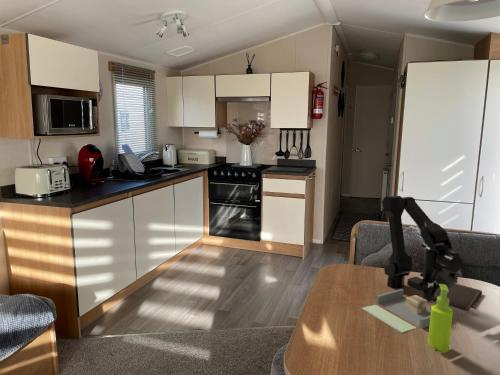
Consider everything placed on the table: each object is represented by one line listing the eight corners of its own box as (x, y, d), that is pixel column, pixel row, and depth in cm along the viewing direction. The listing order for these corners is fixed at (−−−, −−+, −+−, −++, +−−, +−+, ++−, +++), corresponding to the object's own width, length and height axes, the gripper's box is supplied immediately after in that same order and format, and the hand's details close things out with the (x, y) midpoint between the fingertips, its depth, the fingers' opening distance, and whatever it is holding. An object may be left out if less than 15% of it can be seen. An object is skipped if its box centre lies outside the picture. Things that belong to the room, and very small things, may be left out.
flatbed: (400, 299, 149) (401, 288, 148) (447, 323, 131) (448, 311, 131) (376, 306, 143) (376, 295, 142) (421, 332, 125) (422, 320, 125)
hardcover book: (422, 302, 148) (423, 296, 148) (439, 284, 165) (440, 279, 164) (468, 316, 137) (469, 310, 137) (481, 295, 154) (482, 290, 154)
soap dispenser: (446, 343, 119) (452, 284, 116) (449, 355, 113) (457, 293, 110) (425, 339, 121) (432, 281, 118) (428, 351, 115) (434, 290, 111)
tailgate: (375, 304, 141) (361, 307, 138) (416, 327, 125) (401, 332, 122) (375, 307, 141) (361, 310, 138) (416, 330, 126) (401, 334, 122)
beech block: (414, 304, 141) (415, 294, 141) (426, 310, 137) (427, 300, 136) (405, 307, 139) (406, 297, 138) (416, 313, 135) (417, 303, 134)
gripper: (435, 274, 127) (430, 316, 130) (469, 265, 136) (464, 305, 138) (408, 263, 137) (404, 303, 139) (441, 255, 145) (437, 293, 148)
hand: (428, 301), depth 141 cm, fingers closed
